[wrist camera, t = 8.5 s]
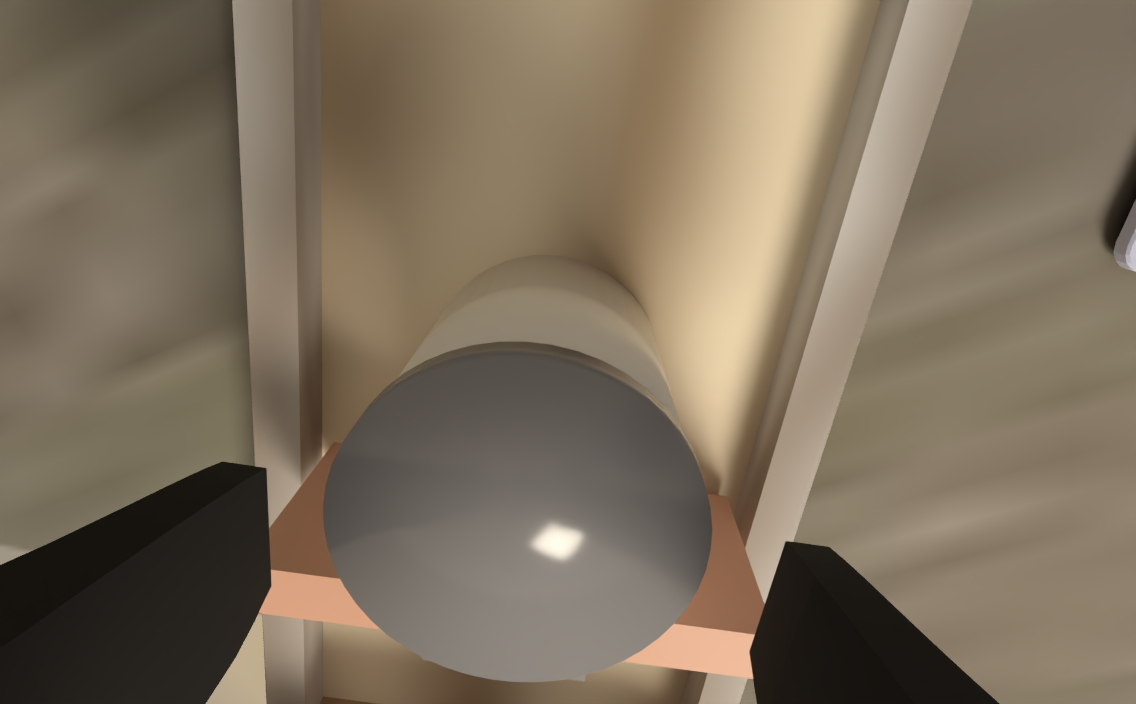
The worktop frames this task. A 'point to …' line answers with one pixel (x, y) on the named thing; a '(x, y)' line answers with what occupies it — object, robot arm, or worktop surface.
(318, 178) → the lane
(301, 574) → the pusher
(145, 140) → the worktop surface
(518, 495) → the jar
